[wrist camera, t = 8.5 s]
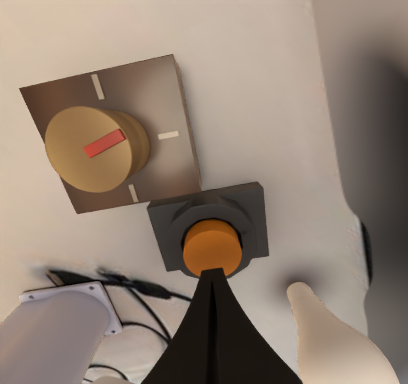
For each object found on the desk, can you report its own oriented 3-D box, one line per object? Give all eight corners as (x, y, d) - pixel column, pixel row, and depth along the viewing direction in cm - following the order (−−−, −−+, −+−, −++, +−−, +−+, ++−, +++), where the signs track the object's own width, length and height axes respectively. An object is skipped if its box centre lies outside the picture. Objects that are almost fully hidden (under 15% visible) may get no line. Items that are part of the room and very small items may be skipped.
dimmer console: (96, 199, 18) (75, 215, 15) (53, 94, 15) (16, 87, 12) (201, 180, 17) (201, 193, 14) (178, 67, 14) (172, 52, 11)
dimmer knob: (110, 185, 14) (78, 207, 11) (71, 129, 13) (19, 132, 9) (161, 159, 14) (146, 173, 10) (126, 97, 12) (93, 87, 9)
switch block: (169, 261, 20) (163, 288, 17) (150, 199, 18) (138, 216, 15) (263, 246, 20) (276, 271, 16) (257, 179, 17) (270, 193, 14)
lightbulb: (265, 268, 21) (326, 413, 10) (322, 259, 20) (446, 400, 10) (269, 308, 23) (325, 463, 12) (322, 301, 22) (424, 454, 12)
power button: (191, 267, 17) (189, 283, 15) (179, 223, 15) (176, 236, 14) (241, 259, 17) (245, 274, 15) (234, 214, 15) (238, 226, 13)
